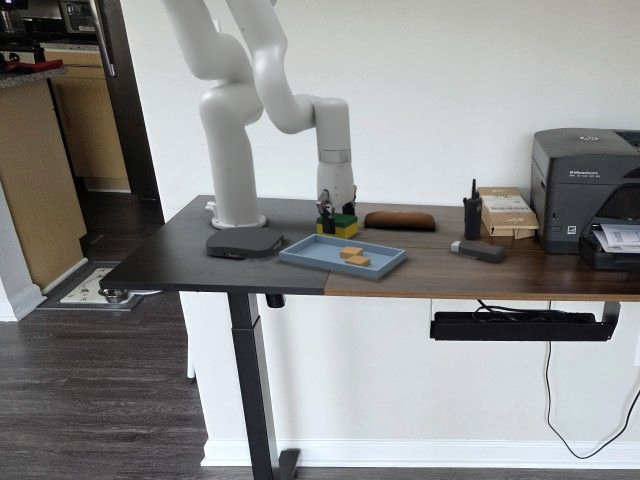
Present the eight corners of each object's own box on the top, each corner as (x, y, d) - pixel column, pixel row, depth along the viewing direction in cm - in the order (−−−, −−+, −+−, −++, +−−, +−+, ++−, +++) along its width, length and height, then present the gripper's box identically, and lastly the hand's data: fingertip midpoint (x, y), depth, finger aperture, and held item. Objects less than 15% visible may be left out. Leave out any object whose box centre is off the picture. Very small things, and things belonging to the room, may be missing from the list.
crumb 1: (339, 257, 150) (339, 251, 150) (346, 252, 154) (346, 246, 153) (356, 260, 150) (356, 254, 149) (363, 254, 153) (363, 248, 153)
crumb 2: (344, 266, 146) (344, 260, 145) (355, 261, 149) (354, 254, 149) (360, 270, 145) (360, 263, 144) (370, 264, 148) (370, 258, 147)
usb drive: (496, 263, 156) (497, 251, 155) (449, 254, 159) (449, 242, 158) (504, 256, 160) (505, 245, 159) (457, 247, 163) (458, 236, 162)
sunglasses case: (433, 220, 179) (434, 202, 174) (434, 240, 176) (435, 223, 170) (364, 218, 177) (363, 200, 171) (364, 239, 173) (363, 221, 168)
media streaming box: (228, 235, 159) (226, 222, 158) (289, 240, 159) (288, 228, 158) (200, 256, 147) (198, 243, 145) (267, 262, 147) (265, 249, 145)
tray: (280, 262, 147) (279, 252, 146) (315, 243, 159) (314, 233, 158) (377, 281, 142) (377, 270, 140) (406, 260, 154) (406, 250, 152)
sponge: (317, 236, 163) (316, 218, 161) (331, 229, 169) (330, 211, 166) (345, 241, 162) (344, 223, 159) (358, 234, 167) (357, 216, 165)
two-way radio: (473, 241, 168) (476, 180, 161) (457, 238, 170) (459, 178, 162) (482, 235, 173) (485, 176, 165) (466, 232, 174) (469, 173, 167)
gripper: (338, 147, 164) (343, 216, 172) (299, 161, 149) (306, 236, 158) (366, 151, 162) (369, 220, 171) (330, 165, 148) (335, 240, 156)
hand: (339, 228), depth 164 cm, fingers open, 9 cm apart
